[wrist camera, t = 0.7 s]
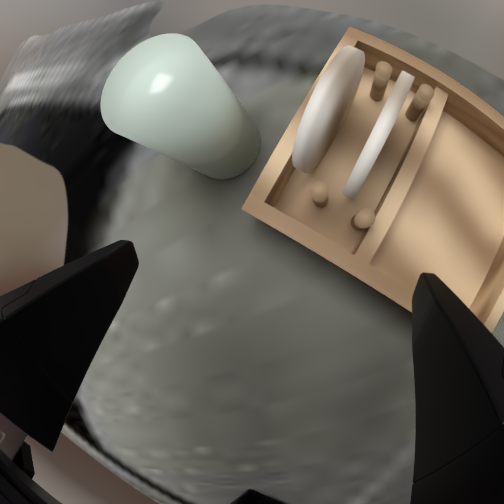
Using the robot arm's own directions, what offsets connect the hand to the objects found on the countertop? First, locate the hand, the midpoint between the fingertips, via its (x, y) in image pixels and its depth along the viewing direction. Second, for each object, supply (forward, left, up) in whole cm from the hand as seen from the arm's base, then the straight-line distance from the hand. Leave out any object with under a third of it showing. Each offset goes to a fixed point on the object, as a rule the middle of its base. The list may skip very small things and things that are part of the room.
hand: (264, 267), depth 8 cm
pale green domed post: (+4, +9, -13) cm, 16 cm away
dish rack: (+8, -5, -13) cm, 16 cm away
